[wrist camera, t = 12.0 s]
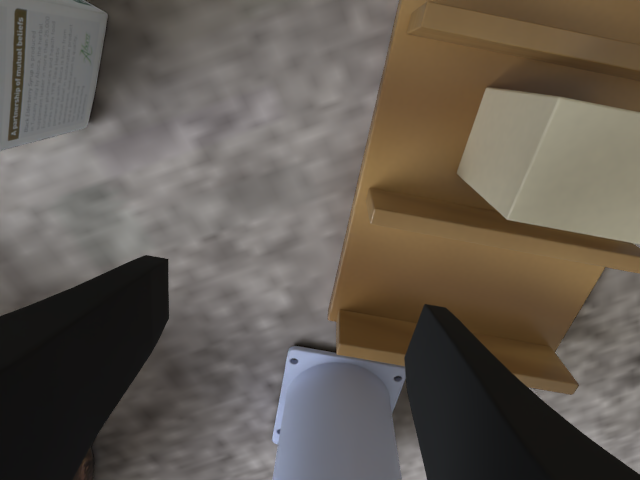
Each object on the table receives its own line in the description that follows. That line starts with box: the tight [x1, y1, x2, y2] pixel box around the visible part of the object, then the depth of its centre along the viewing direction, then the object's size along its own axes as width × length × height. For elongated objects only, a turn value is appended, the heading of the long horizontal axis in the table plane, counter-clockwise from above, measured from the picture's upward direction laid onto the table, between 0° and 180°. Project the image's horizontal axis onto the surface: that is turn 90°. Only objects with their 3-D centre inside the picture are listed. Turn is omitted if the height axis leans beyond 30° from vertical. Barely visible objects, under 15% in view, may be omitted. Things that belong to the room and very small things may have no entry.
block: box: [457, 87, 640, 244], centre depth 14 cm, size 4×5×6 cm
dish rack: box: [328, 0, 640, 395], centre depth 16 cm, size 24×14×4 cm, turn 170°
